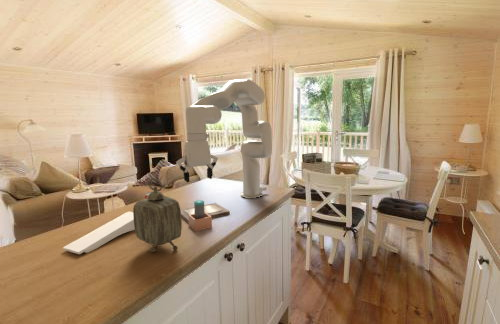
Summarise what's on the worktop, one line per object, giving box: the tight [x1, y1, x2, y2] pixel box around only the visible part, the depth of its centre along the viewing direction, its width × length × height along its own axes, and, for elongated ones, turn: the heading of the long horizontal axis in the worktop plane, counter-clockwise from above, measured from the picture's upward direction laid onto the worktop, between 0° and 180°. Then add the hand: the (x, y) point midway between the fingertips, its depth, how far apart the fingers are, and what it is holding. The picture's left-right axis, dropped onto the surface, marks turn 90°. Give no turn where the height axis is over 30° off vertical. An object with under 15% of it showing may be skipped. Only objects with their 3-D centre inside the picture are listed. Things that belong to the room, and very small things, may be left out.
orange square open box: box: [188, 212, 213, 232], centre depth 114 cm, size 7×7×4 cm
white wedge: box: [62, 211, 135, 255], centre depth 105 cm, size 10×7×28 cm
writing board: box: [180, 202, 231, 224], centre depth 129 cm, size 20×15×2 cm
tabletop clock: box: [132, 177, 183, 253], centre depth 93 cm, size 14×9×25 cm, turn 56°
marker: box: [193, 199, 205, 219], centre depth 113 cm, size 4×4×10 cm
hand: (198, 179), depth 111 cm, fingers open, 9 cm apart
